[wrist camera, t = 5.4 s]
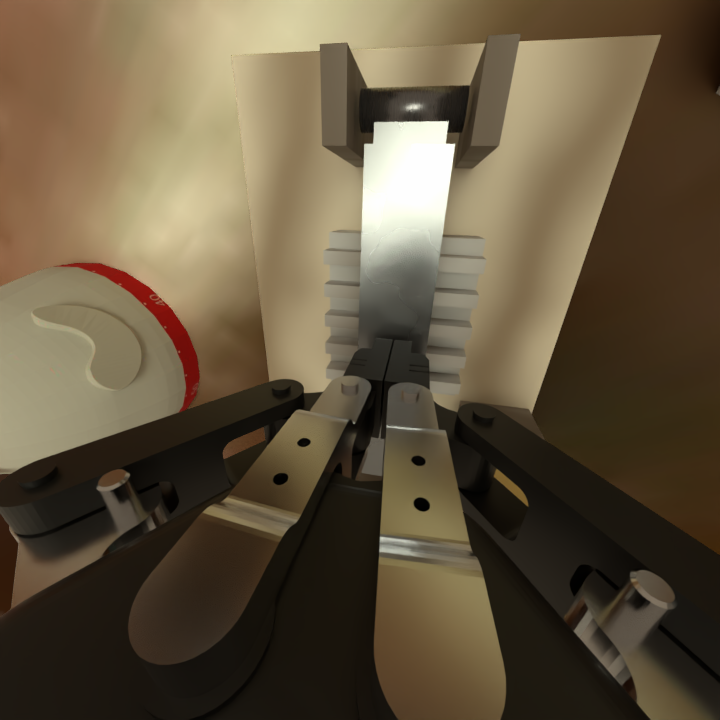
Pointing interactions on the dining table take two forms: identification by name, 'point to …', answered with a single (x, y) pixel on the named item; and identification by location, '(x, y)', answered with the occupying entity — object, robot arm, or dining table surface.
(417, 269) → the strap
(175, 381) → the kitchen timer
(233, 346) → the dining table surface
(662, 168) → the dining table surface
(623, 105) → the cream board with rail
